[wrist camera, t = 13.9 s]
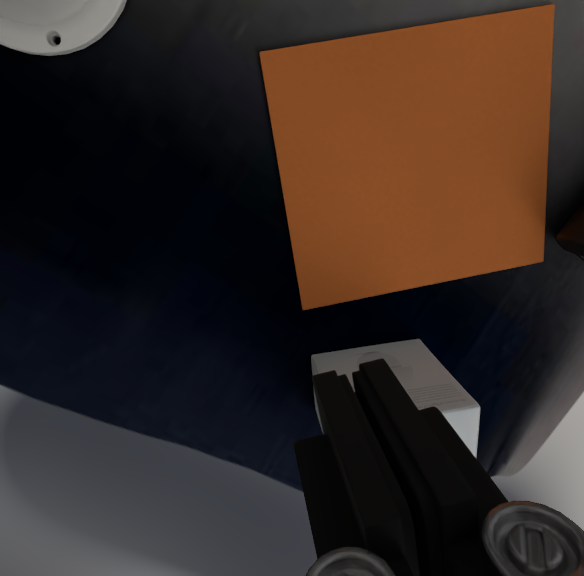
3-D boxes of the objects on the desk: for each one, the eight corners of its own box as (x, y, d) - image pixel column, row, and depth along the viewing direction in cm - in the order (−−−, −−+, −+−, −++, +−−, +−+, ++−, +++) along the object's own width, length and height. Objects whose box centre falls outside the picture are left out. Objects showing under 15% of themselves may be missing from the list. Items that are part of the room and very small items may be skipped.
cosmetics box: (315, 413, 41) (340, 499, 31) (309, 353, 39) (335, 426, 29) (420, 396, 42) (477, 475, 32) (421, 337, 40) (482, 402, 30)
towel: (259, 52, 30) (259, 51, 30) (552, 4, 32) (554, 3, 32) (302, 309, 37) (302, 310, 37) (541, 260, 39) (543, 261, 39)
